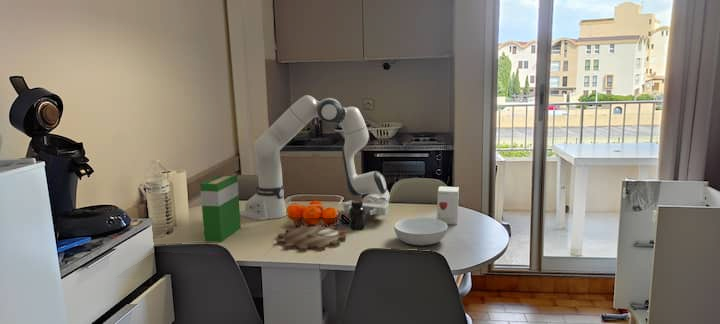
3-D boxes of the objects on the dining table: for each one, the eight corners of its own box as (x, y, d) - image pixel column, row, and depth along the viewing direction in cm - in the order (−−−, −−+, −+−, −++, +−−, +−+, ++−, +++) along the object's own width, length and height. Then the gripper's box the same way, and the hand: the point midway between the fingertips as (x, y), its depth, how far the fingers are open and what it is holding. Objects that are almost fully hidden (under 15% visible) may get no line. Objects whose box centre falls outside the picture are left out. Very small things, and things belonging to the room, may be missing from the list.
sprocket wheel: (263, 246, 193) (263, 242, 192) (299, 225, 218) (299, 221, 217) (326, 255, 182) (326, 251, 181) (356, 232, 207) (356, 228, 206)
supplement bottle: (346, 229, 211) (345, 202, 208) (354, 224, 217) (353, 198, 214) (360, 231, 208) (360, 204, 205) (368, 227, 213) (367, 200, 211)
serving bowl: (412, 229, 209) (412, 214, 208) (456, 239, 196) (457, 223, 195) (383, 243, 194) (383, 226, 192) (429, 255, 181) (429, 237, 179)
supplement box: (436, 223, 216) (436, 190, 213) (438, 217, 225) (438, 185, 222) (457, 224, 214) (458, 191, 211) (458, 218, 223) (459, 186, 220)
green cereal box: (225, 227, 217) (221, 174, 212) (240, 228, 215) (237, 174, 211) (204, 241, 200) (200, 183, 195) (221, 242, 198) (217, 184, 194)
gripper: (350, 195, 229) (337, 203, 217) (391, 199, 221) (380, 207, 209) (350, 208, 230) (337, 216, 218) (391, 212, 222) (381, 221, 210)
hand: (359, 212), depth 213 cm, fingers open, 8 cm apart
